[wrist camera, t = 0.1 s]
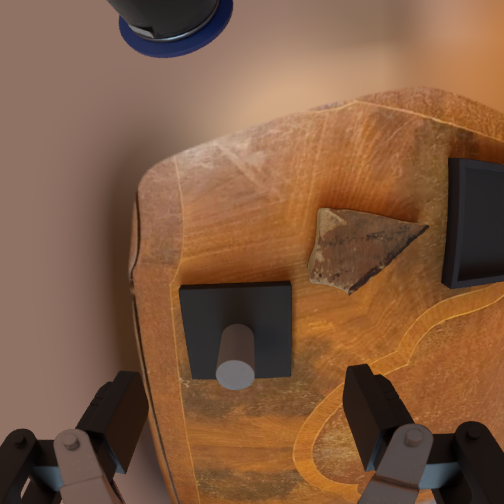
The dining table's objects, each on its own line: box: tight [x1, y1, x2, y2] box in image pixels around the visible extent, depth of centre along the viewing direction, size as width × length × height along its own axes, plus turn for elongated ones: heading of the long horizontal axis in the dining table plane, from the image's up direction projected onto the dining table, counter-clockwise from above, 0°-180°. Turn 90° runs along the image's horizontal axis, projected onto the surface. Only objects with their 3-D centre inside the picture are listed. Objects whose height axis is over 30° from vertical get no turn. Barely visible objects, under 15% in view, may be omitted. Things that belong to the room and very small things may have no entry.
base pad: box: [441, 158, 504, 289], centre depth 26 cm, size 13×13×2 cm
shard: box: [307, 208, 429, 296], centre depth 27 cm, size 11×8×2 cm
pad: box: [179, 281, 292, 390], centre depth 26 cm, size 10×10×7 cm
